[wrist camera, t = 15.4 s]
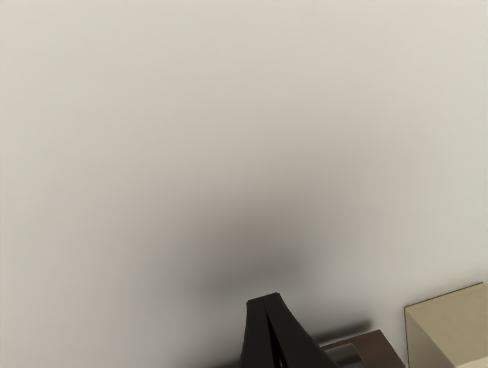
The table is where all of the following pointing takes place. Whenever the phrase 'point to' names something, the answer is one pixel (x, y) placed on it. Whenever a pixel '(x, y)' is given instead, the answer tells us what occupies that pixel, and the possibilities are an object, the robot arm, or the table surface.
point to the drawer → (364, 352)
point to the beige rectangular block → (449, 330)
